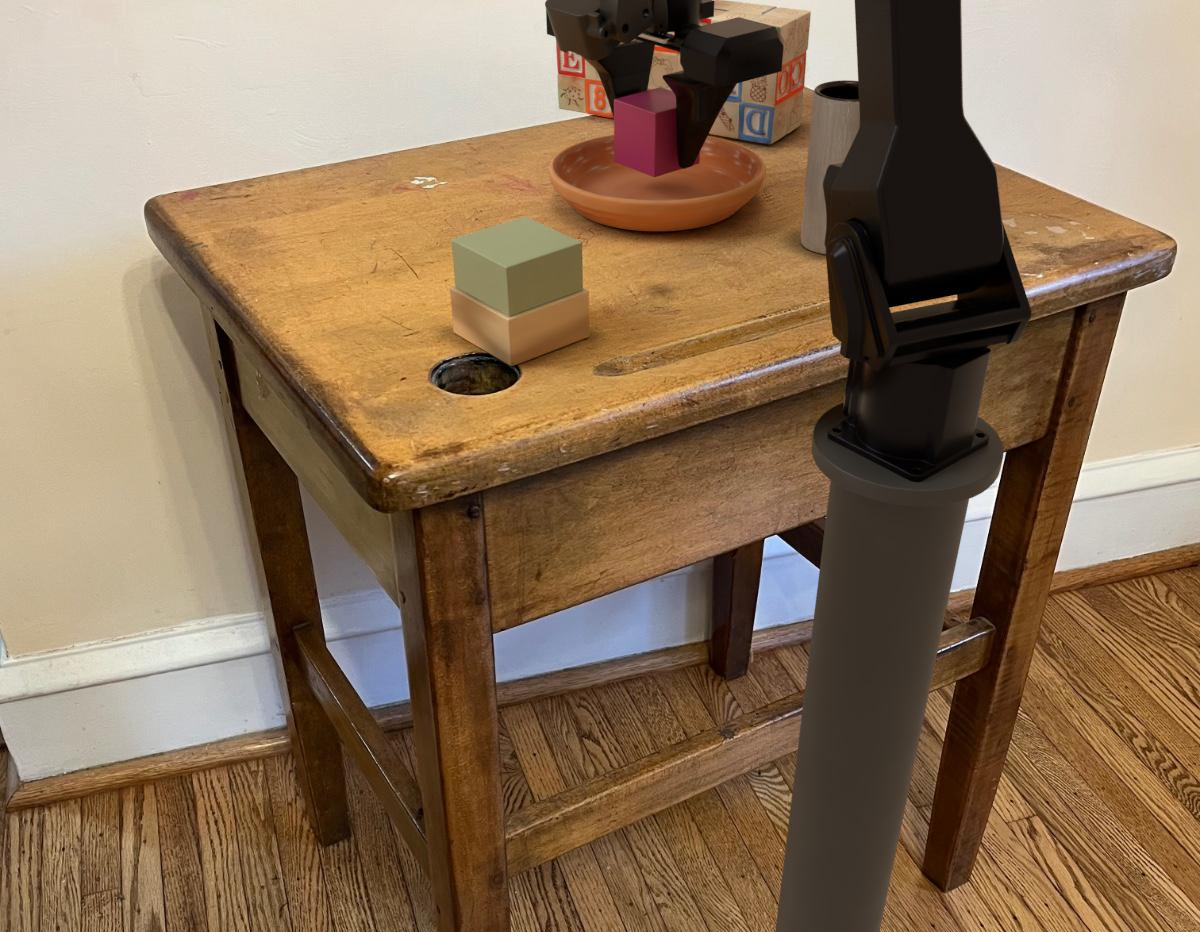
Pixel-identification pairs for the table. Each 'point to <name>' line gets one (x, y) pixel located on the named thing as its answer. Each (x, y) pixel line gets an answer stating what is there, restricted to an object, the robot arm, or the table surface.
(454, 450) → the table surface
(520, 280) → the sage middle block
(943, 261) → the robot arm
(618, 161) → the mulberry block
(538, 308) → the beech base block
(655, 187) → the saucer
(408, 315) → the table surface
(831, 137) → the grey hollow cylinder
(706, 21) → the stack of blocks
